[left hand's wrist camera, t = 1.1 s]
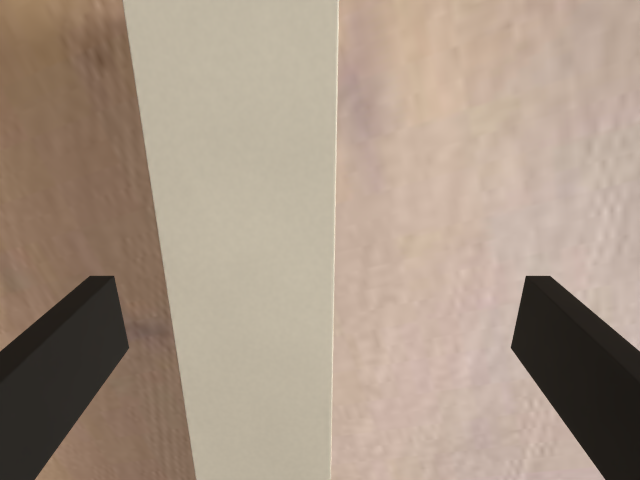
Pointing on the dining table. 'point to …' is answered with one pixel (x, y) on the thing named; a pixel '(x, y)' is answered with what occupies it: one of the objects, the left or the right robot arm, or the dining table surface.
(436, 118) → the dining table surface
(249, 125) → the beam
